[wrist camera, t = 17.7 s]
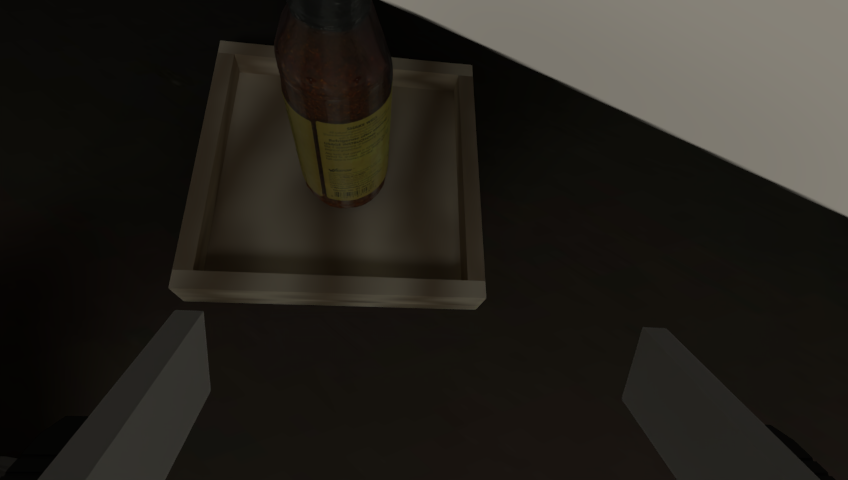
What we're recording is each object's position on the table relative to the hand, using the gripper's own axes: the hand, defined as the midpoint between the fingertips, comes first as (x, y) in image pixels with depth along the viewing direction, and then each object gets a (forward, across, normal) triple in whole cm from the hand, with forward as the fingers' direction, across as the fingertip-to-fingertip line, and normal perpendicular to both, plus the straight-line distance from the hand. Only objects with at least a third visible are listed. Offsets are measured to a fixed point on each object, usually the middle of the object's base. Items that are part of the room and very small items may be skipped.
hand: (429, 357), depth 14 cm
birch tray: (+24, -4, -1) cm, 25 cm away
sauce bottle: (+24, -4, -1) cm, 24 cm away
